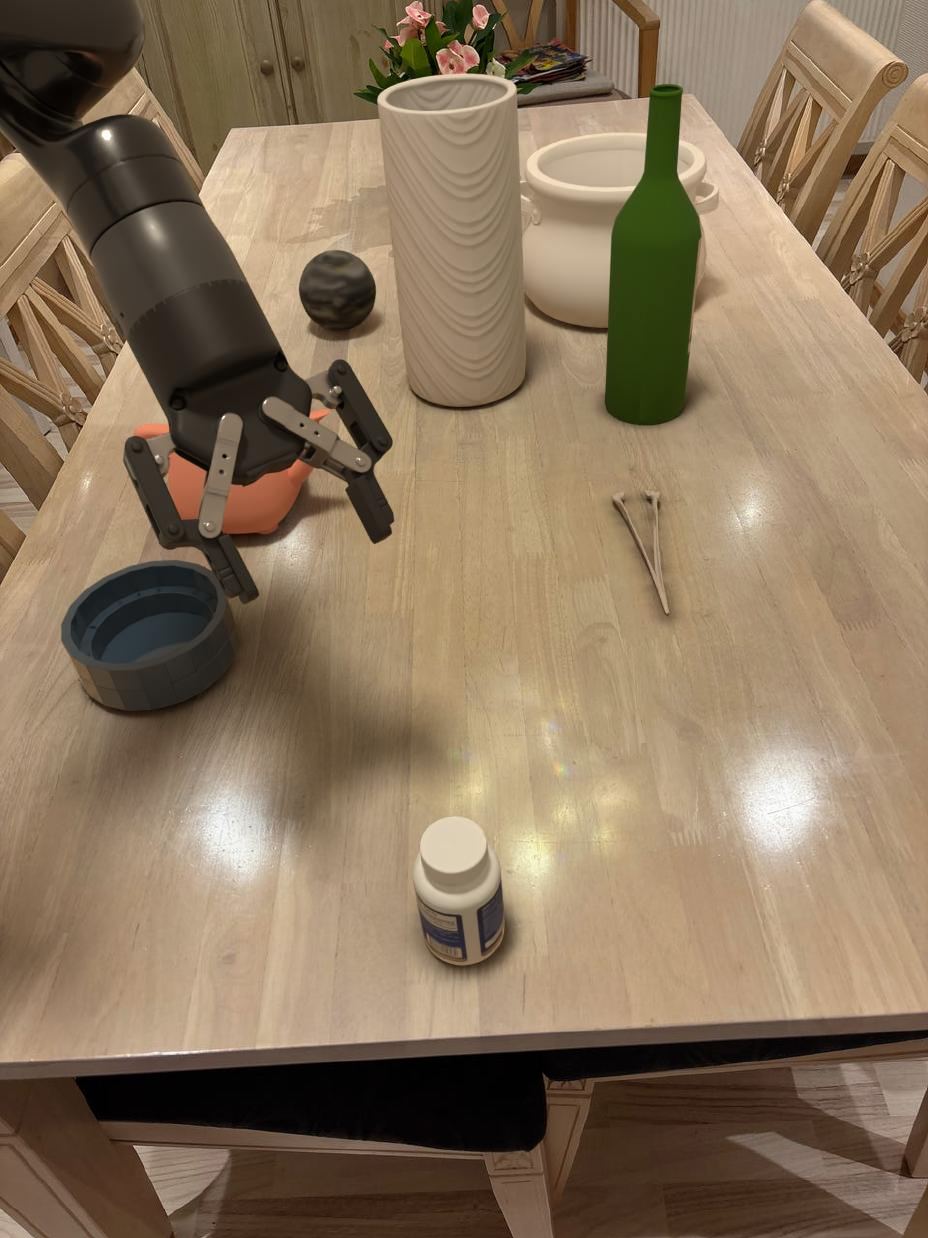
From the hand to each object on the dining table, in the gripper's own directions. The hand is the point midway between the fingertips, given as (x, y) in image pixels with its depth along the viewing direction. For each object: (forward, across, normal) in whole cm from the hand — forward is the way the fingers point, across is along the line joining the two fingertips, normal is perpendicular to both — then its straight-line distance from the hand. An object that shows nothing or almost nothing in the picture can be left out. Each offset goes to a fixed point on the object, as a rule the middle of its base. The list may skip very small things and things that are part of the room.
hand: (319, 568), depth 55 cm
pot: (-21, +70, +54) cm, 91 cm away
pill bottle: (+25, 0, +8) cm, 26 cm away
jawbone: (+10, +36, +23) cm, 44 cm away
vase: (-17, +42, +50) cm, 67 cm away
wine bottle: (-4, +54, +38) cm, 66 cm away
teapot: (-12, +10, +45) cm, 48 cm away
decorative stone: (-33, +38, +66) cm, 83 cm away
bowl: (-2, -6, +34) cm, 35 cm away
